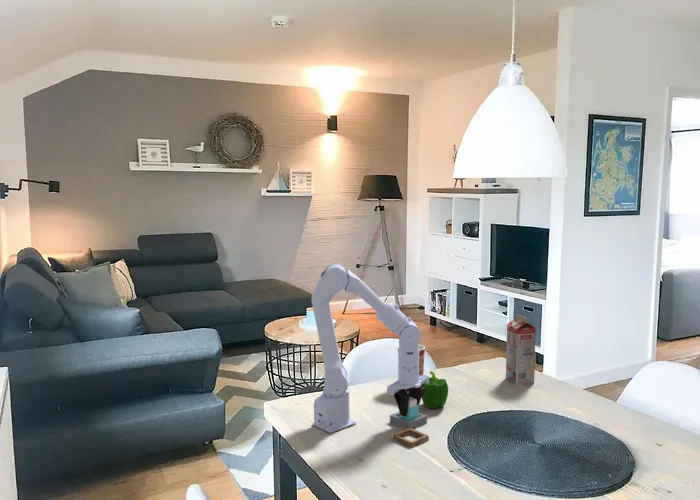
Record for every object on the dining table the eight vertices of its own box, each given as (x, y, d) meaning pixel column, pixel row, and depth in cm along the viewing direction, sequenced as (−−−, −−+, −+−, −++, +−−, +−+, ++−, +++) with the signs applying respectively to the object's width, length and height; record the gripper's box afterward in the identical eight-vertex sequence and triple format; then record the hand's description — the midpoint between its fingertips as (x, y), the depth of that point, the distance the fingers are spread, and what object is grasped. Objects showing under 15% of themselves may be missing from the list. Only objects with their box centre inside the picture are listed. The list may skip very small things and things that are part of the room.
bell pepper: (448, 412, 171) (448, 378, 169) (419, 410, 172) (419, 377, 171) (448, 401, 179) (448, 369, 178) (420, 400, 180) (421, 368, 179)
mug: (396, 383, 195) (396, 343, 194) (423, 382, 195) (423, 343, 194) (398, 396, 183) (398, 354, 181) (428, 396, 183) (428, 354, 181)
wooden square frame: (410, 447, 148) (410, 443, 148) (392, 439, 153) (392, 434, 153) (428, 440, 152) (428, 435, 152) (410, 432, 157) (410, 427, 157)
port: (408, 430, 158) (408, 421, 158) (390, 422, 164) (390, 414, 164) (427, 422, 163) (427, 414, 163) (408, 415, 168) (408, 407, 168)
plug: (409, 424, 161) (409, 402, 160) (400, 420, 163) (400, 398, 163) (418, 421, 163) (418, 399, 162) (409, 417, 166) (409, 395, 165)
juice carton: (516, 384, 193) (517, 318, 190) (505, 378, 199) (507, 314, 197) (534, 383, 194) (535, 317, 192) (523, 376, 201) (525, 313, 198)
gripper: (400, 374, 154) (400, 424, 155) (437, 363, 163) (437, 410, 165) (381, 368, 159) (381, 416, 161) (418, 357, 168) (418, 403, 170)
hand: (408, 413), depth 163 cm, fingers closed on plug, 3 cm apart
